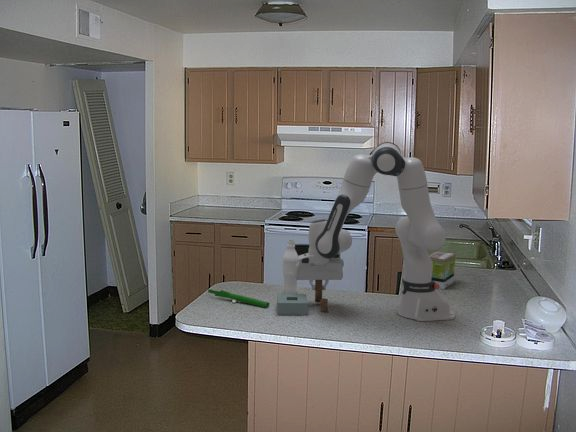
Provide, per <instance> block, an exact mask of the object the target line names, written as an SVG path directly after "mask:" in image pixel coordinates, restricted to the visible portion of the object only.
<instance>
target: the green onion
mask: <svg viewBox="0 0 576 432" xmlns="http://www.w3.org/2000/svg"><path fill="white" fill-rule="evenodd" d="M207 292H208V293H209V294H213V295H214V297H221V298H226V299H229V300H232V303H239V304H241V303H245V304H248V305H252V306H256V307H257V306H258V307H261V308H265V309H267V308H269V307H270V302H267V301H263V300H259V299H257V298H253V297H249V296H245V295H241V294H236V293H231V292H229V291H226V290H220V291H218V290H215V289H210V288H209V289H207ZM240 302H241V303H240Z"/></svg>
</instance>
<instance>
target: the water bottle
mask: <svg viewBox="0 0 576 432" xmlns="http://www.w3.org/2000/svg"><path fill="white" fill-rule="evenodd" d="M286 247H287V248H286V250H285V252H284V254H283V256H282V274H283V285H282V289H281V291H282V294H299V287H298V280H296V278H295V268H296V264H297V262H298V256H299V254H298V253H297V250H296V249H295V248H296V244H295V240H294V239H288V240H287V244H286Z"/></svg>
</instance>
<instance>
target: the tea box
mask: <svg viewBox="0 0 576 432" xmlns="http://www.w3.org/2000/svg"><path fill="white" fill-rule="evenodd" d="M428 255H429V257H430V258H431V260H432V278H431V280H432V281H434V282H435V283H437V284H439V286H440V288H439V289H438V290H445V289H446V288H447V287H449V286H450V285H452V284H453V283H454V281H455V280H454V279H455V278H454V277H455V267H456V266H455V265H456V254H455V253H451V252H443V251H436V250H435V252H432V253H431V254H428Z"/></svg>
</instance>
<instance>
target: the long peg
mask: <svg viewBox="0 0 576 432" xmlns="http://www.w3.org/2000/svg"><path fill="white" fill-rule="evenodd" d="M314 282H315V290H314V302H315V303H320V299H323V290H322V285H323V280H314Z"/></svg>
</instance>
